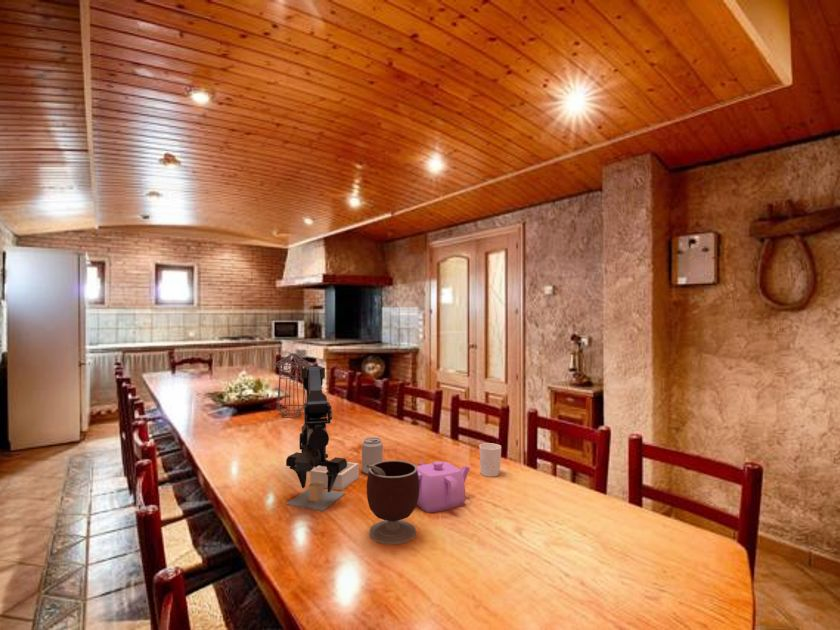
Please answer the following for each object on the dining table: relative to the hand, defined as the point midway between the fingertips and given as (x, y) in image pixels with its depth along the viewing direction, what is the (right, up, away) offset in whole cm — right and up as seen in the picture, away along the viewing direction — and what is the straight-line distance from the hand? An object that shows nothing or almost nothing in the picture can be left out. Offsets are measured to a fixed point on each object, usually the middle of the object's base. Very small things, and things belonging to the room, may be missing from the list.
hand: (316, 489), depth 139 cm
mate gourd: (+24, -4, -21) cm, 32 cm away
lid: (0, -4, 0) cm, 4 cm away
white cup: (+58, -4, +23) cm, 62 cm away
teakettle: (+38, -4, 0) cm, 38 cm away
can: (+15, -3, +24) cm, 29 cm away
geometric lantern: (-39, -2, +111) cm, 117 cm away
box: (+3, -3, +15) cm, 15 cm away
